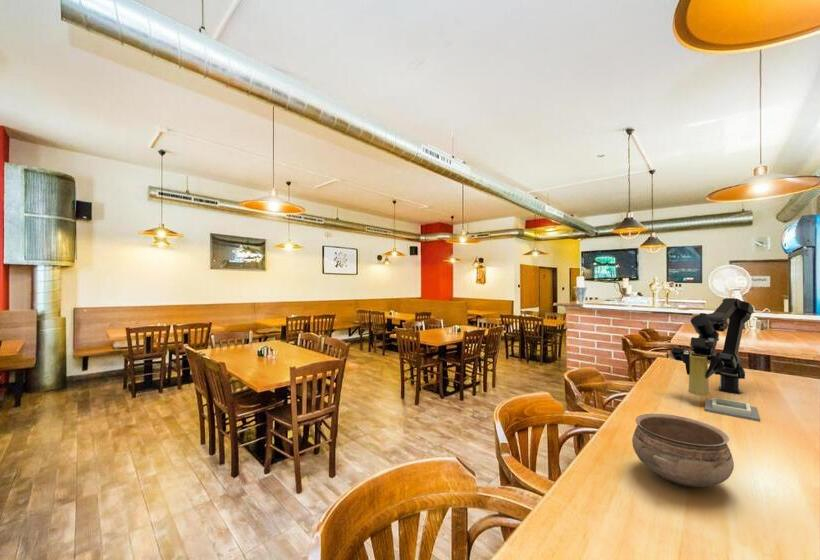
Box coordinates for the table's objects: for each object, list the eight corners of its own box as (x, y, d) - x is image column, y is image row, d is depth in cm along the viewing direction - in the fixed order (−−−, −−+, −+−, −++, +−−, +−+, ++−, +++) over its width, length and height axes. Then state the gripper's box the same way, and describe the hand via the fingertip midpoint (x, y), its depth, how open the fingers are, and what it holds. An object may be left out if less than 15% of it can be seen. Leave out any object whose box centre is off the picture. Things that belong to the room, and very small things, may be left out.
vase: (701, 390, 134) (701, 353, 133) (713, 396, 127) (713, 357, 127) (684, 390, 134) (684, 353, 134) (695, 395, 128) (695, 357, 128)
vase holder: (706, 400, 135) (706, 394, 135) (756, 409, 126) (756, 403, 126) (704, 411, 125) (704, 404, 125) (760, 421, 115) (760, 414, 115)
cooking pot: (654, 448, 98) (654, 404, 98) (747, 479, 82) (746, 428, 82) (612, 478, 83) (612, 427, 83) (715, 523, 68) (715, 460, 68)
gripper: (672, 326, 141) (661, 358, 134) (734, 332, 125) (724, 368, 119) (680, 343, 145) (669, 375, 139) (740, 351, 130) (732, 386, 124)
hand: (697, 375), depth 130 cm, fingers closed on vase, 5 cm apart
